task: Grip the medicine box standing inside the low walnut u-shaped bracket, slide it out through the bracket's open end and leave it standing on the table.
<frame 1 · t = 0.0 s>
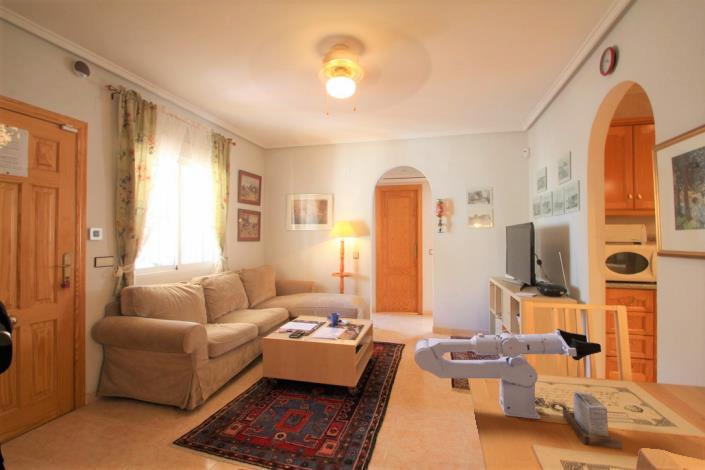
hand: (592, 343, 90), 22 cm above the table, tool horizontal, fingers open, 7 cm apart
medicine box: (590, 432, 84), on the table
walnut u-shaped bracket: (590, 431, 84), on the table
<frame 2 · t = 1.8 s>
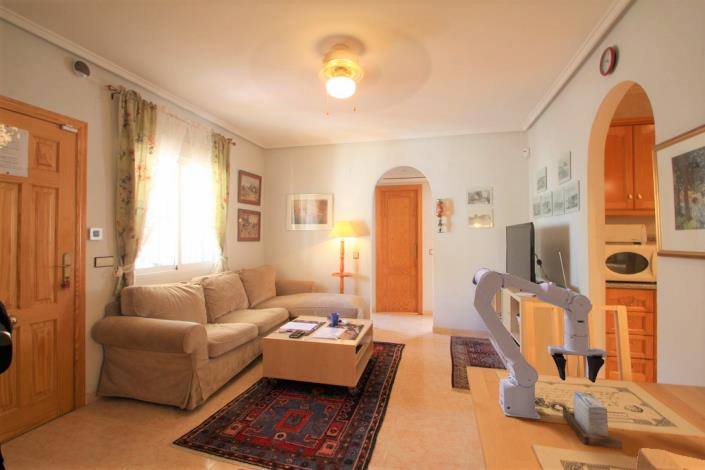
hand: (577, 380, 92), 10 cm above the table, tool pointing down, fingers open, 7 cm apart
nothing on the table moved.
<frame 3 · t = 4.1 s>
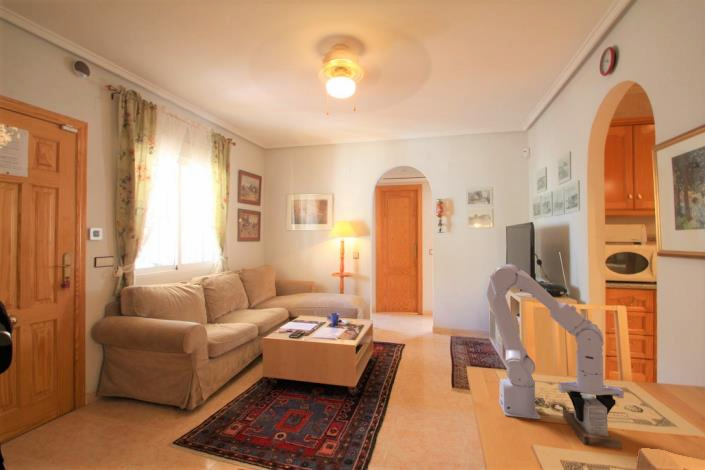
hand: (590, 420, 84), 3 cm above the table, tool pointing down, fingers closed on medicine box, 4 cm apart
medicine box: (590, 432, 84), on the table, touching gripper
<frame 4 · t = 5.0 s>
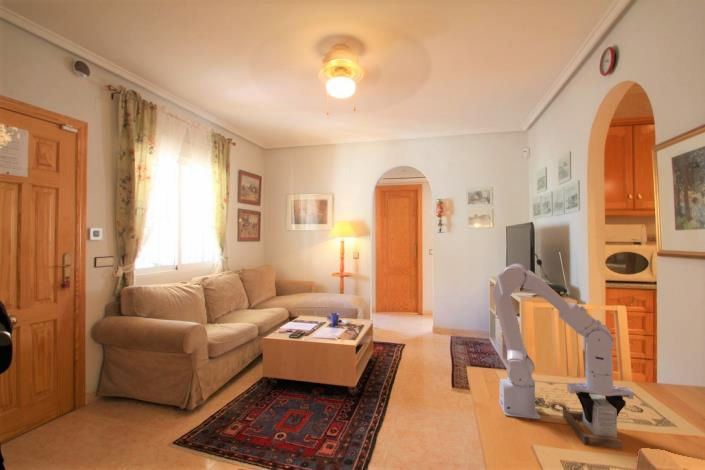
hand: (599, 421, 83), 3 cm above the table, tool pointing down, fingers closed on medicine box, 5 cm apart
medicine box: (598, 433, 84), on the table, touching gripper
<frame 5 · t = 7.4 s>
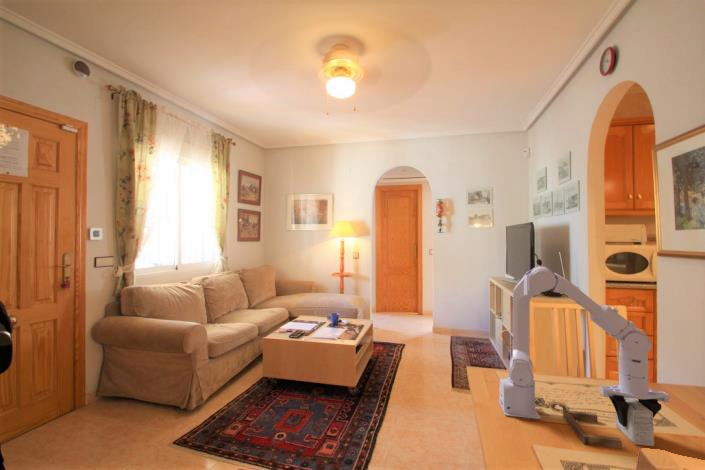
hand: (633, 425, 82), 3 cm above the table, tool pointing down, fingers closed on medicine box, 4 cm apart
medicine box: (634, 437, 82), on the table, touching gripper
when the fingers open (3 cm above the table, at t = 7.5 s): medicine box stays where it is, on the table.
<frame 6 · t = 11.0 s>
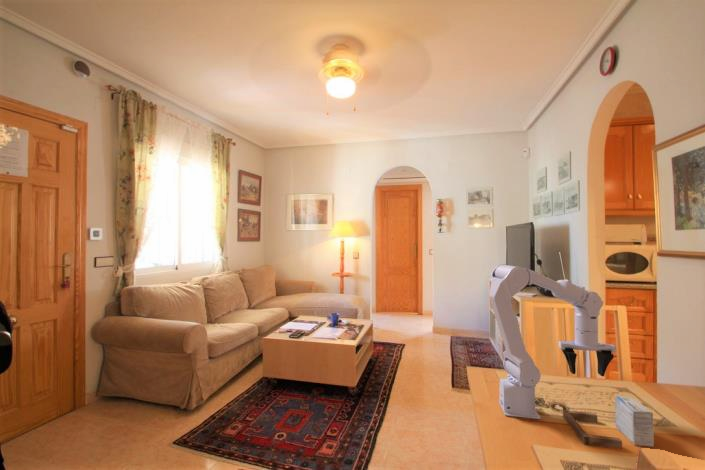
hand: (586, 373, 96), 10 cm above the table, tool pointing down, fingers open, 7 cm apart
medicine box: (633, 437, 82), on the table
at the end: medicine box inside the target area (0.6 cm from its centre), on the table; medicine box tilted 0°; the gripper is holding nothing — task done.
